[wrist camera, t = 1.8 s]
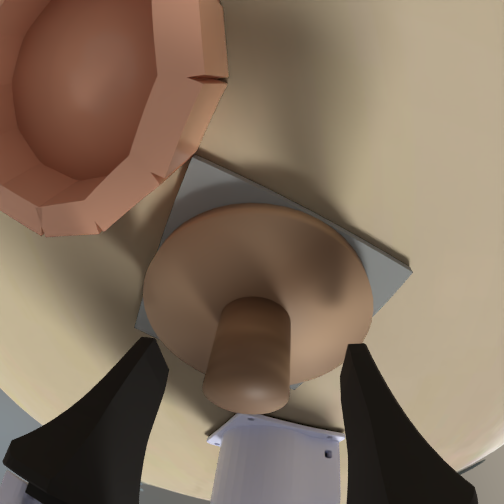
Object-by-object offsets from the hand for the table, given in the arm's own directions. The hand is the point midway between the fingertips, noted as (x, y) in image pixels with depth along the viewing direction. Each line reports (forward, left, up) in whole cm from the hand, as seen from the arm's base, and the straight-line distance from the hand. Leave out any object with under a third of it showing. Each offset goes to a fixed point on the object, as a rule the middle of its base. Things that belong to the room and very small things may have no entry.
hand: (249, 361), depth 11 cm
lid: (0, 0, -3) cm, 3 cm away
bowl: (+10, -6, -4) cm, 13 cm away
